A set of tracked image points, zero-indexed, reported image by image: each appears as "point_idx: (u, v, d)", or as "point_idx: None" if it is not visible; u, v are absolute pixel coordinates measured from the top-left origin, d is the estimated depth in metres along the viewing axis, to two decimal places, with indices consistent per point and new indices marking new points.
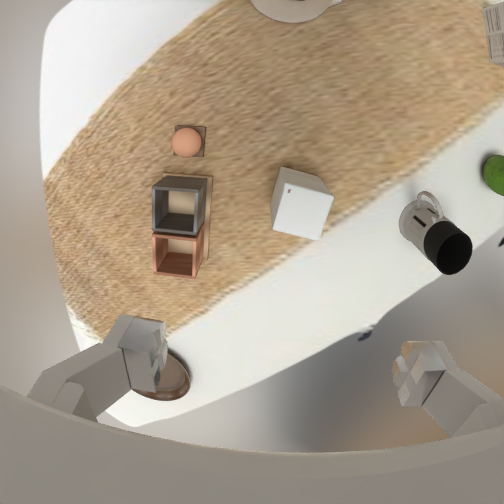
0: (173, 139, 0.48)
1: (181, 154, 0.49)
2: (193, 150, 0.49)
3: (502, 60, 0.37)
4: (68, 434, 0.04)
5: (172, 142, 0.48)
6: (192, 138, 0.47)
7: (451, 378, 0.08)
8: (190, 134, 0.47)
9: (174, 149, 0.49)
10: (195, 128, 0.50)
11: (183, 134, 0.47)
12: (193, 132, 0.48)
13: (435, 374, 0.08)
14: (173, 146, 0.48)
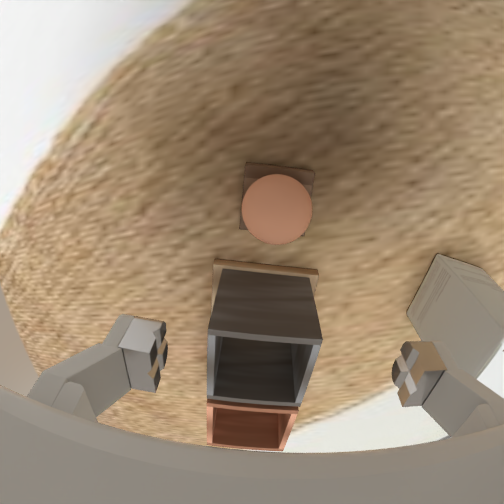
0: (251, 205, 0.21)
1: (270, 241, 0.22)
2: (299, 233, 0.21)
3: None
4: (68, 434, 0.04)
5: (248, 211, 0.21)
6: (300, 206, 0.20)
7: (451, 378, 0.08)
8: (295, 195, 0.20)
9: (253, 229, 0.21)
10: (293, 173, 0.23)
11: (279, 196, 0.20)
12: (300, 190, 0.21)
13: (435, 374, 0.08)
14: (252, 222, 0.21)
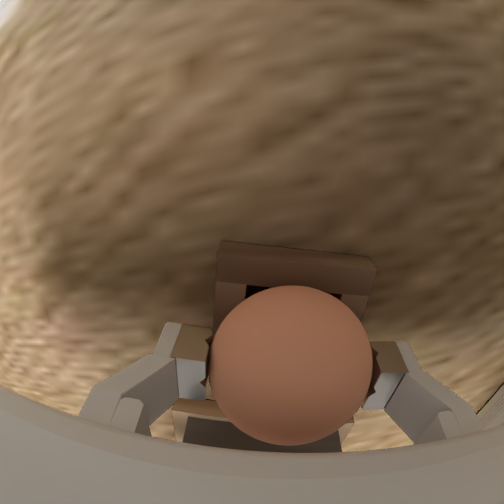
0: (228, 388, 0.08)
1: None
2: (338, 427, 0.08)
3: None
4: (68, 434, 0.04)
5: (221, 396, 0.08)
6: (353, 393, 0.07)
7: (412, 381, 0.08)
8: (343, 369, 0.07)
9: (235, 424, 0.08)
10: (329, 273, 0.10)
11: (303, 383, 0.07)
12: (355, 347, 0.08)
13: (395, 376, 0.08)
14: (230, 418, 0.08)
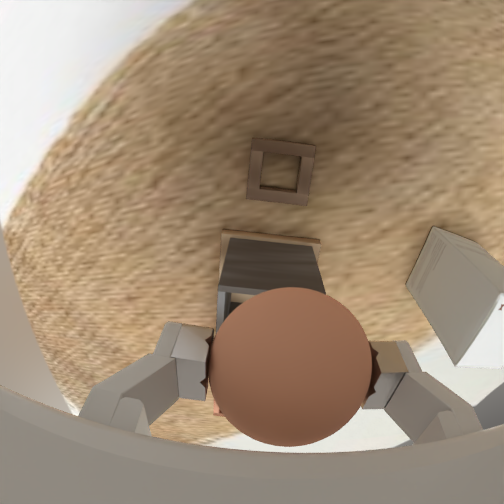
0: (228, 389, 0.08)
1: None
2: None
3: None
4: (68, 434, 0.04)
5: (221, 396, 0.08)
6: (352, 394, 0.07)
7: (412, 381, 0.08)
8: (342, 370, 0.07)
9: (234, 425, 0.08)
10: (296, 147, 0.25)
11: (302, 383, 0.07)
12: (354, 348, 0.08)
13: (395, 376, 0.08)
14: (230, 419, 0.08)
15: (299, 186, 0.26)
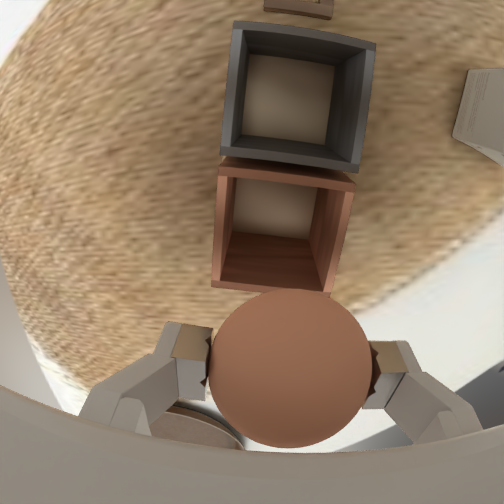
0: (227, 391, 0.08)
1: None
2: (338, 430, 0.08)
3: None
4: (68, 434, 0.04)
5: (220, 398, 0.08)
6: (352, 396, 0.07)
7: (412, 381, 0.08)
8: (342, 372, 0.07)
9: (234, 426, 0.08)
10: None
11: (302, 386, 0.07)
12: (354, 350, 0.08)
13: (395, 376, 0.08)
14: (230, 421, 0.08)
15: None
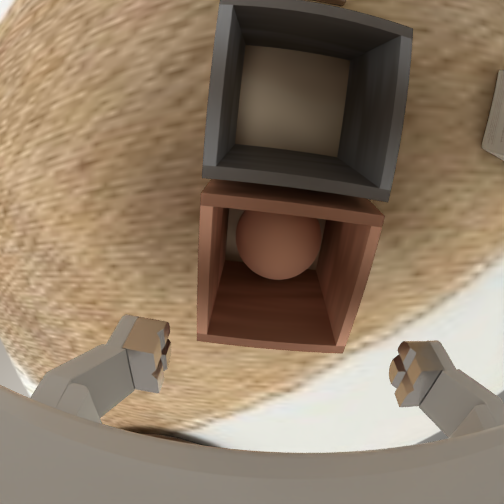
0: (247, 233, 0.17)
1: (269, 277, 0.18)
2: (305, 267, 0.18)
3: None
4: (68, 434, 0.04)
5: (243, 241, 0.17)
6: (307, 236, 0.17)
7: (448, 378, 0.08)
8: (301, 221, 0.17)
9: (249, 262, 0.18)
10: None
11: (282, 224, 0.16)
12: None
13: (432, 374, 0.08)
14: (247, 254, 0.17)
15: None
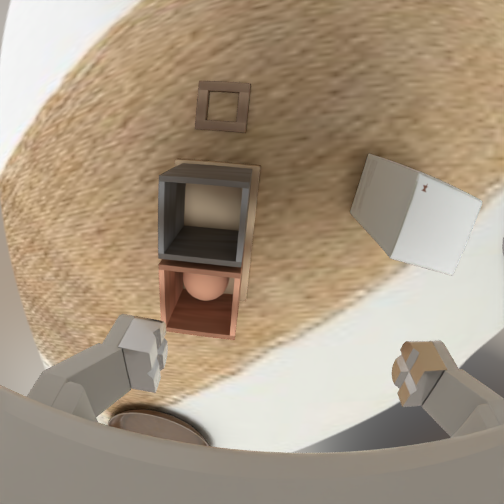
0: (186, 276, 0.33)
1: (199, 299, 0.34)
2: (217, 294, 0.33)
3: None
4: (68, 434, 0.04)
5: (185, 280, 0.33)
6: (215, 279, 0.32)
7: (451, 378, 0.08)
8: None
9: (188, 291, 0.33)
10: (234, 85, 0.29)
11: None
12: None
13: (435, 374, 0.08)
14: (187, 287, 0.33)
15: (238, 116, 0.30)
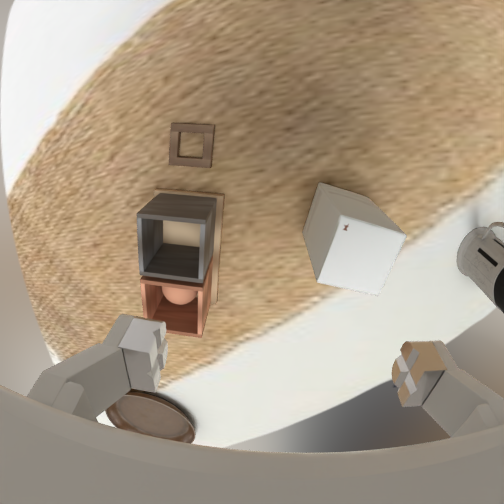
0: None
1: (174, 303, 0.41)
2: (187, 300, 0.40)
3: None
4: (68, 434, 0.04)
5: (162, 288, 0.40)
6: None
7: (451, 378, 0.08)
8: None
9: (165, 296, 0.41)
10: (199, 127, 0.35)
11: None
12: None
13: (435, 374, 0.08)
14: (164, 293, 0.40)
15: (203, 154, 0.37)
